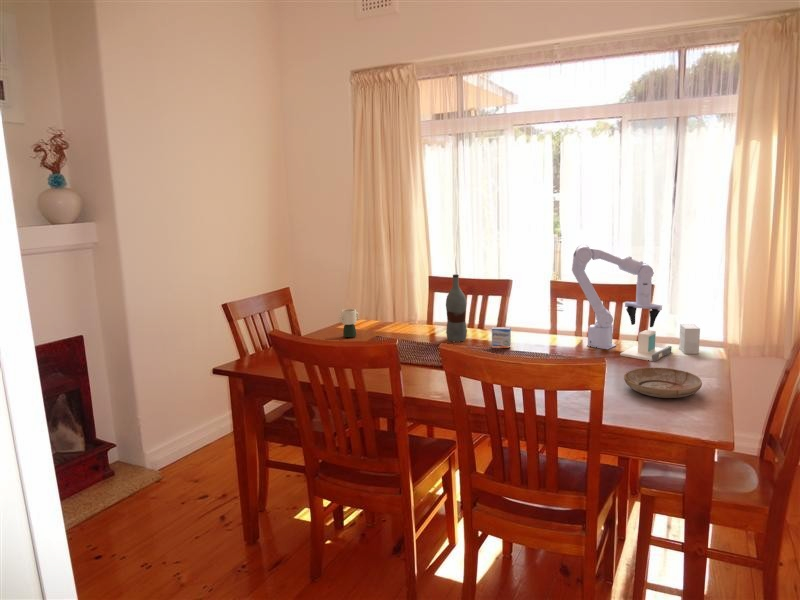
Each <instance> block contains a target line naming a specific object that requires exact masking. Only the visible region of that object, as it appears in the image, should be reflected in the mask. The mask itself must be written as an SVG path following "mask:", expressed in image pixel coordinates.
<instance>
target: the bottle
mask: <svg viewBox="0 0 800 600" xmlns="http://www.w3.org/2000/svg"><path fill="white" fill-rule="evenodd" d="M459 281H460V280H459V274H455V273H454V274H452V287H451V289H450V290H449V292H448V293H447V296H446V299H445V300H446V301H445V309H446V320H447V321H446V330H445V333H446V338H447V341H448V342H450V341H456V342H455V343H460V342H459V341H463V342H465V341H466V340H467V333H468V329H467V323H466V318H467V317H466V316H467V304H468V303H467V299H466V295H465V293H463V290H462V289H461V287H460V282H459ZM464 340H465V341H464Z"/></svg>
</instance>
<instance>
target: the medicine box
mask: <svg viewBox="0 0 800 600" xmlns="http://www.w3.org/2000/svg"><path fill="white" fill-rule="evenodd" d="M511 331H512V329H511V327H510V326H509V327H507V326H500V327H499V326H492V328H491V346H492V345H493V346H510V345H511V343H512V342H511V341H512V339H511V337H512V334H511ZM511 346H512V345H511Z"/></svg>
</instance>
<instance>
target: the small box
mask: <svg viewBox="0 0 800 600" xmlns="http://www.w3.org/2000/svg"><path fill="white" fill-rule="evenodd" d="M700 335H701V328H700V327H698V325H696V324H693V323H691V324H689V323H685V324H684V323H683V324H682V323H681V324H680V325H679V341H678V342H679V346H678V347H679V348H678V349H679V350H680V351H681V352H682V353H683V354H684V355H687V354H688V355H692V354H693V355H694V354H695V355H699V354H700V337H701V336H700Z"/></svg>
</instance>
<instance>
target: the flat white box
mask: <svg viewBox="0 0 800 600" xmlns="http://www.w3.org/2000/svg"><path fill="white" fill-rule="evenodd" d="M668 353H669V354H670V353H672V346H671V345H668V346H666V347H664V348H663V347H658V346H655V351H653V352H651V353H649V354H643V353H638V344H636V345H635V346H632V347H630V348H628V349H626V350H624V351H622V352H620V357H627V358H631V359H638V360H643V361H648V360H649V361H650V362H656V361H658V360H660V359H661V357H662V358H663V357H665V356H667V355H669V354H668ZM666 354H667V355H666ZM664 355H665V356H664ZM659 358H660V359H659ZM649 361H648V362H649Z"/></svg>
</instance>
